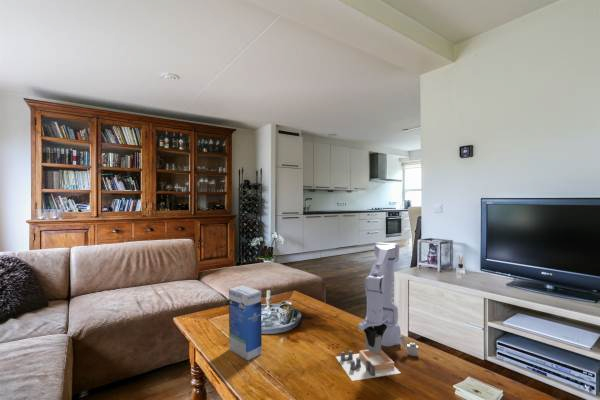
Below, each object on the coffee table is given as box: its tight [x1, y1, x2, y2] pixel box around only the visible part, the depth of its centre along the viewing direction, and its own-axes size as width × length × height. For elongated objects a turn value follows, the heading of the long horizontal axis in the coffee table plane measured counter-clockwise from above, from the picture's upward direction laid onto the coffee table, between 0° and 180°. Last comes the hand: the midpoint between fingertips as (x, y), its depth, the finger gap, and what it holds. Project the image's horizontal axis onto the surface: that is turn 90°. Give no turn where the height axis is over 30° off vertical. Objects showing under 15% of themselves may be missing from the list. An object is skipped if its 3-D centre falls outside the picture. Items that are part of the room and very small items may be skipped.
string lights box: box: [228, 284, 263, 361], centre depth 124 cm, size 13×8×26 cm, turn 47°
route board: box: [335, 350, 401, 382], centre depth 114 cm, size 19×16×4 cm
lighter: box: [399, 334, 419, 357], centre depth 122 cm, size 7×2×8 cm, turn 72°
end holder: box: [358, 349, 395, 371], centre depth 116 cm, size 9×11×2 cm
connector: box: [364, 333, 382, 354], centre depth 113 cm, size 3×5×7 cm, turn 33°
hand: (374, 344), depth 112 cm, fingers closed on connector, 3 cm apart
